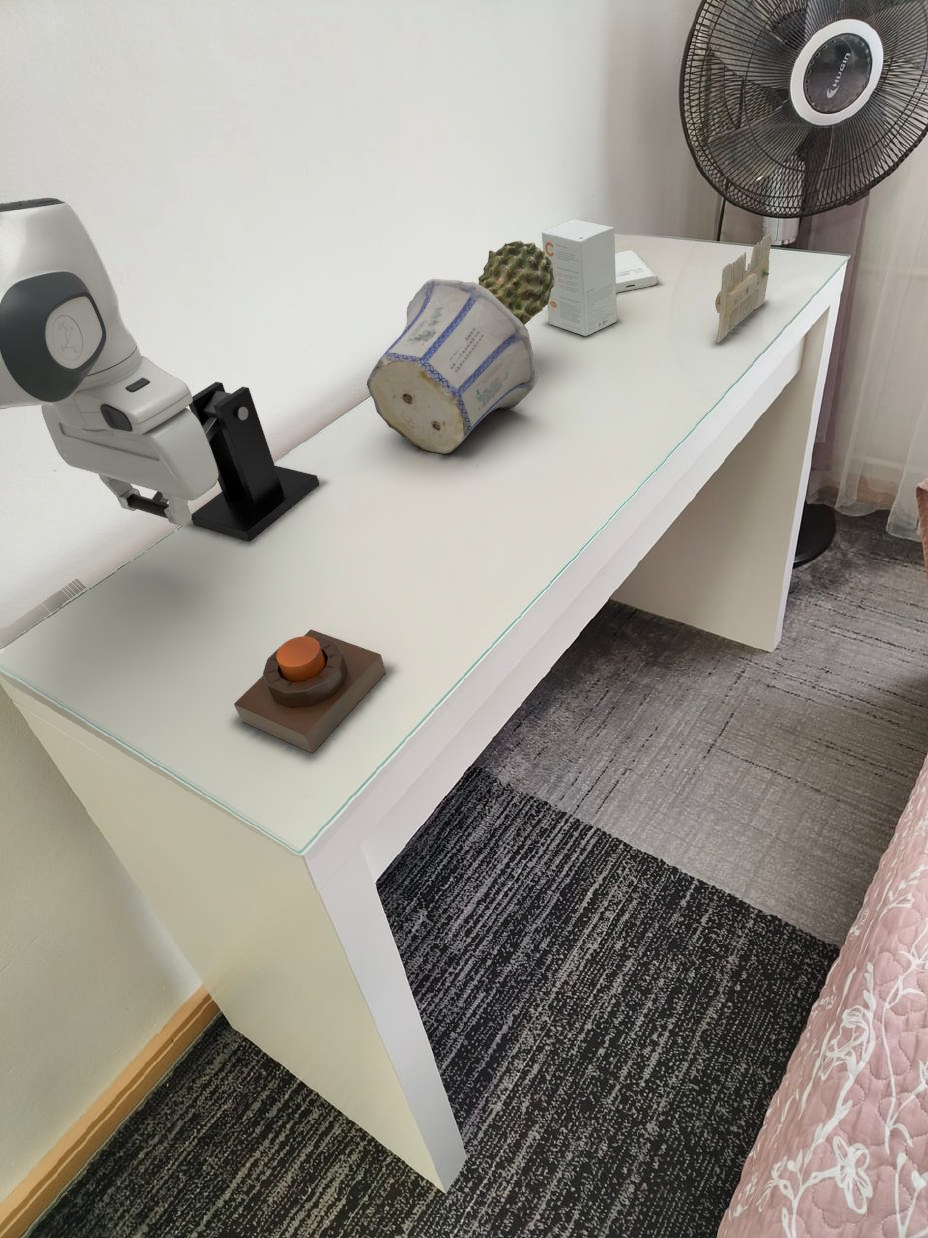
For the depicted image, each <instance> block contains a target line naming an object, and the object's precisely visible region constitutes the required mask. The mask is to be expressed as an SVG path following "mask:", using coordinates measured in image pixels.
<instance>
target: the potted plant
mask: <svg viewBox="0 0 928 1238" xmlns="http://www.w3.org/2000/svg"><path fill="white" fill-rule="evenodd" d="M482 270H483V273H482V274H481V275H479V276H478V278H477V280H478V283H477V282H474V281H463V280H457V279H443V278H442V279H441V278H431V279H428V280H426V282H425V283H424V284H423V285H422V286H421V287H420V289H419V290H417V292H416V293H415V294H414V296H413V298H412V299H411V300H410V301H409V302H408V304H407V307H406V324H405V326H404V329H403V330H402V333H401V334H400V335H399V337H397V339H396V340H395V341H394V342H393V343H392V344H391V345H390V346H389V348H387V350H385V352H384V353H383V355H382V356H381V357H380V358H379V359H378V361H377V363H376V364H375V365H374V367H373V369H372V370H371V373H370V374H369V376H368V378H367V380H366V386H367V389H368V392H369V396H370V397H371V398H372V399H373V403H374V407H375V410H376V413H377V414H378V415H379V417H380V418H382V420H383V421H384V422H385V423H386V425H387V426H388V428H390V429H392V430H394V431H395V432H396V433H397V434H399V435H400V436H401V437H402V438H404V439H405V440H407V441H409V442H410V443H411V444H412V445H414V446H416V447H418V448H419V449H421V450H422V451H425V452H432V453H436V454H444V455H445V454H451V452H453V451H454V450H456V448H457V447H459V446H460V445H461V444H462V443H463V441H464V440H465V439H466V438H467V437H468V436H469V435H470V433H471V432H472V431H473V430H474V429H475V427H477V425H479V424H480V422H481V421H482V420H483V419H485V417H487V416H488V415H489V414H490V413H492V412H493V411H495V410H497V409H502V410H511V409H513V408H514V407H516V406H517V405H518V404H520V402H521V401H523V399H525V397H527V395H528V394H530V392H532V390H533V389H534V388H535V386H536V385H537V382H538V372H537V369H536V364H535V359H534V350H533V346H532V342H531V338H530V333H529V330H528V328H527V327H526V326H525V325H526V324H527V323H528V322H530V321H531V320H532V319H533V318H534V317H535V316H536V315H537V314H539V313H540V312H542V311H543V309H544V308H545V307H546V306H547V304H548V302H549V298H550V293H551V289H552V288H553V287H554V283H555V280H554V277H553V264H552V262H551V261H550V259H549V258H548V256H547V254H546V253H545V252H543V249H541V247H537V246H536V243H535V242H533V241H532V242H527V243H524V242H523V241H521V240H516V241H511V242H509V243H504V245H502V247H501V248H499V249H498V250H496V251H493V250H491V249H490V250H488V257H487V262H486V264H485V265H484V266H483V268H482Z"/></svg>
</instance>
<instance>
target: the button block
mask: <svg viewBox="0 0 928 1238" xmlns="http://www.w3.org/2000/svg"><path fill="white" fill-rule="evenodd" d="M303 636H308V637H312V638H314V639H316V640H317V641H318V642H319V644H320V647H321V650H322V653H323V656H324V659H325V665H324V667H323V669H322V671H321V672H320V673H319V674H318V675H316V676H315V677H312V678H310V679H308V680H306V681H300V682H295V681H290V680H288V679H286V678H285V677H284V675H283V673H282V671H281V668H280V666H279V663H278V661H277V657H276V655H277V651H278V649H279V648H280V647H281V646H282V645H281V646H279V647H278V648H276V650H275V651H274V652H272V654H271V655H270V656H269V657H268V658H267V659H266V662H265V665H264V669H263V672H262V676H261V677H260V678H259V679H258V680H257V681H256V682H255V683H254V684H253V685H251V686H250V688H249V689H247V690H246V691H245V692H244V693H243V694H242V695H241V696H240V697H239V698H238V699H237V700H236V701H235V702H234V703H233V705H234V707H235V710H236V712H237V714H238V715H239V718H240V720H241V722H242V723H244V724H247V725H249V726H251V727H254V728H255V729H257V730H260V731H262V732H264V733H266V734H269V735H271V736H273V737H276V738H278V739H279V740H282V741H284V742H285V743H286V742H287V743H289V744H291V745H293V746H295V747H298V748H299V749H302V750H304V751H307V752H308V753H311V754H314V753H315V752H316V751H317V750H318V749H319V747H320V746H321V745H322V744H323V743H324V742H325V741H326V740H327V738H328V737H329V736H330V735H331V734H332V733H333V732H334V731H335V730H336V729H337V728H338V726H339V725H340V724H341V723H342V722H343V721H344V720H345V719H346V718H347V716H348V715H349V714H351V712H352V711H353V710H354V709H355V708H356V706H357V705H359V703H360V702H361V701H362V700H363V699H364V698H365V697H366V696H367V694H368V693H369V692H370V691H371V690H372V689H373V688H374V686H375V685H376V684H377V683H379V681H380V680H381V679H382V678H383V677H384V675H385V674H386V673H387V671H386V667H385V664H384V661H383V657H382V654H380V653H378V652H376V651H372V650H370V649H368V648H364V647H361V646H359V645H356V644H354V643H350V642H347V641H344V640H342V639H339V638H336V637H333V636H332V635H331V636H330V635H328V634H325V633H322V632H320V631H316V630H315V629H309V630H308V631H307V632H306V633H305V634H304V635H303Z"/></svg>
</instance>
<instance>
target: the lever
mask: <svg viewBox="0 0 928 1238" xmlns="http://www.w3.org/2000/svg"><path fill="white" fill-rule="evenodd" d="M230 394H232V393H231V392H227V391H225V392H222V391H216V393H215V394H214V396H213V397H212V399H211V400H210V401H209V403H208V404H207V406H206V407H205V408H204V410H203V411H204V412H205V413H206V414H207V416H208V417H209V418H208V420H207V421H206V423H205V424H204V426H203V427H202V428H203V430H204V432H205V435H206V437H207V440H208V442H210V440H211V439H212V437H213V436H214V434H215V433H216V432H217V430H218V429H219V427H220V426H221V425H220V423H219V420H218V417H217V415H216V412H215V409H214V405H215V404H217V403H218V402H220V401H221V400H223V399H224V398H226V397H227V396H229V395H230ZM130 505H131V507H132V508H134V509H136V510H138V511H141V512H144V513H148V514H151V515H154V516H158V517H160V518H164V519H167V520H168V517H167V516H166V514H165V511H164V510H165V509H166V508H168V507H169V501H168V499H165V498H164V497H163V495H162V493H161V492H158V491H156V493H155V494H154V495H153V497H152V498H150V497H147V496H143V495H141V496H140V495H134V496H132V498H131V499H130Z"/></svg>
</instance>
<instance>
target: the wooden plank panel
mask: <svg viewBox="0 0 928 1238" xmlns="http://www.w3.org/2000/svg"><path fill="white" fill-rule="evenodd" d="M771 246H772V234H771V233H768V234H766V235H765V236H763V237H762V238H761V240H760V242H759V241H757V243H756V244H755V245H754V246H753V249H752V253H751V258H750V262H749V263H747V252H746V251H745V252H744V253H743V254H741V255H740V256H739V257H737V259H735V261H732V262H728V263H727V264H726V265H725V266H724V267H723V268H722V271H721V272H722V273H721V287H720V291H719V292H718V293H717V294H716V298H715V301H714V302H715V303H714V305H715V311H716V313H717V314H718V315H719V318H718V319H719V320H718V330H717V343H719V342H721V341H722V340H723V339H725V337H726V336H727V335H728V333H729V332H731V330H733V328H735V327H736V326H737V325H738V324H740V323H741V322H742V321H743V320H745V319H746V317H748V316H749V315H750V314H751V313H752V312H754V310H757V309H759V307H761V306H763V305H764V303H765V299H766V292H767V287H768V280H769V275H770V272H769V271H770V254H771V253H770V252H771ZM746 267H747V268H746Z"/></svg>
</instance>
